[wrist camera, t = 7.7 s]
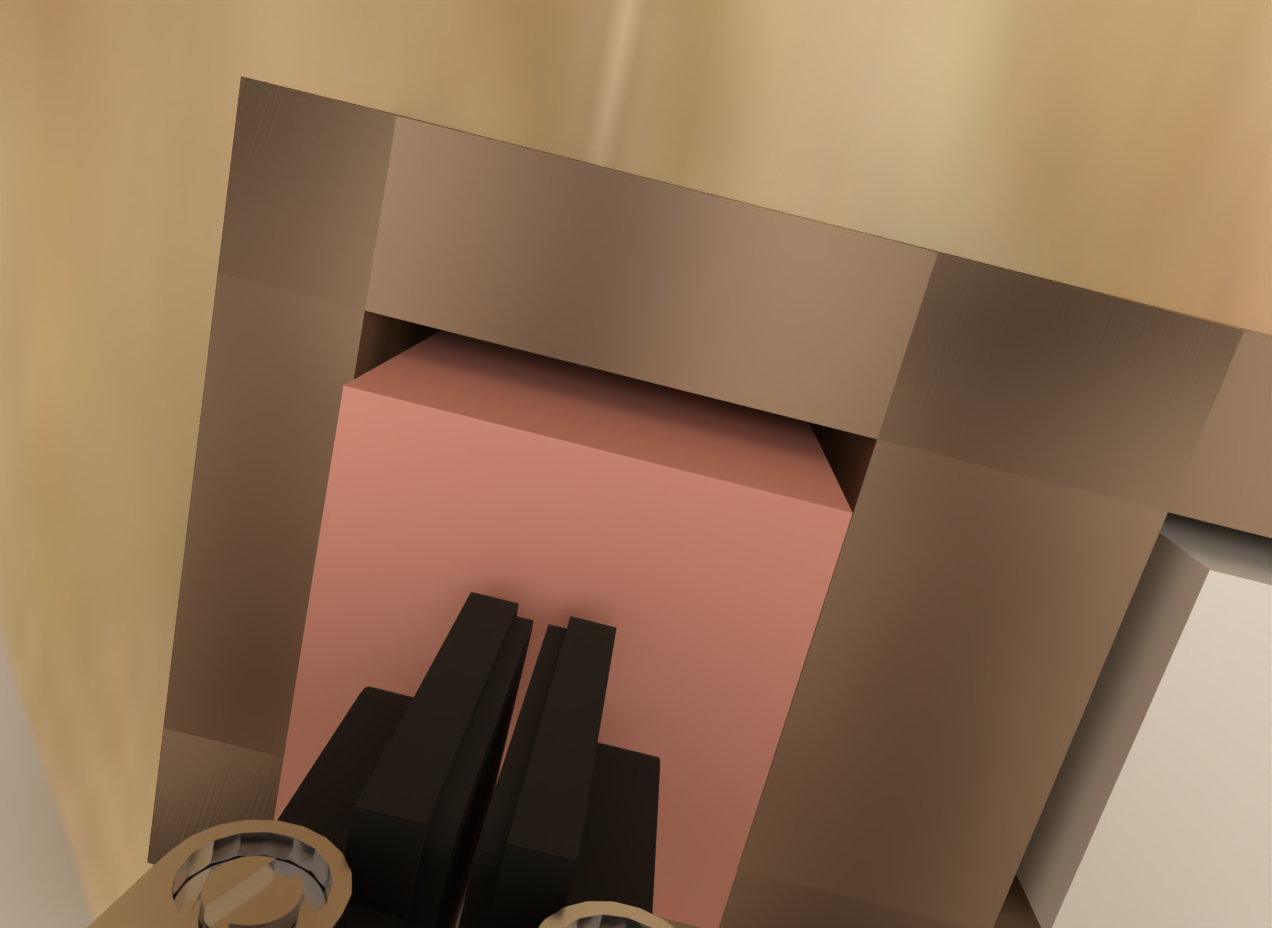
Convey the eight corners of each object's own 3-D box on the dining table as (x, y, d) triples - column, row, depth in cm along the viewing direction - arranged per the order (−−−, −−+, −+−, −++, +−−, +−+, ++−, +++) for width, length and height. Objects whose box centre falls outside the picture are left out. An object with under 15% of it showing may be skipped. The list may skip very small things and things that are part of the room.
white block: (1391, 546, 18) (1655, 681, 13) (1254, 824, 19) (1441, 1037, 14) (1068, 465, 17) (1209, 569, 13) (958, 751, 19) (1046, 938, 14)
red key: (805, 415, 16) (853, 512, 11) (711, 729, 18) (717, 931, 13) (449, 326, 16) (343, 385, 11) (388, 649, 18) (272, 822, 13)
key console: (1537, 403, 18) (1928, 503, 12) (1270, 921, 22) (1479, 1189, 16) (386, 111, 18) (241, 76, 12) (295, 680, 21) (146, 862, 16)
